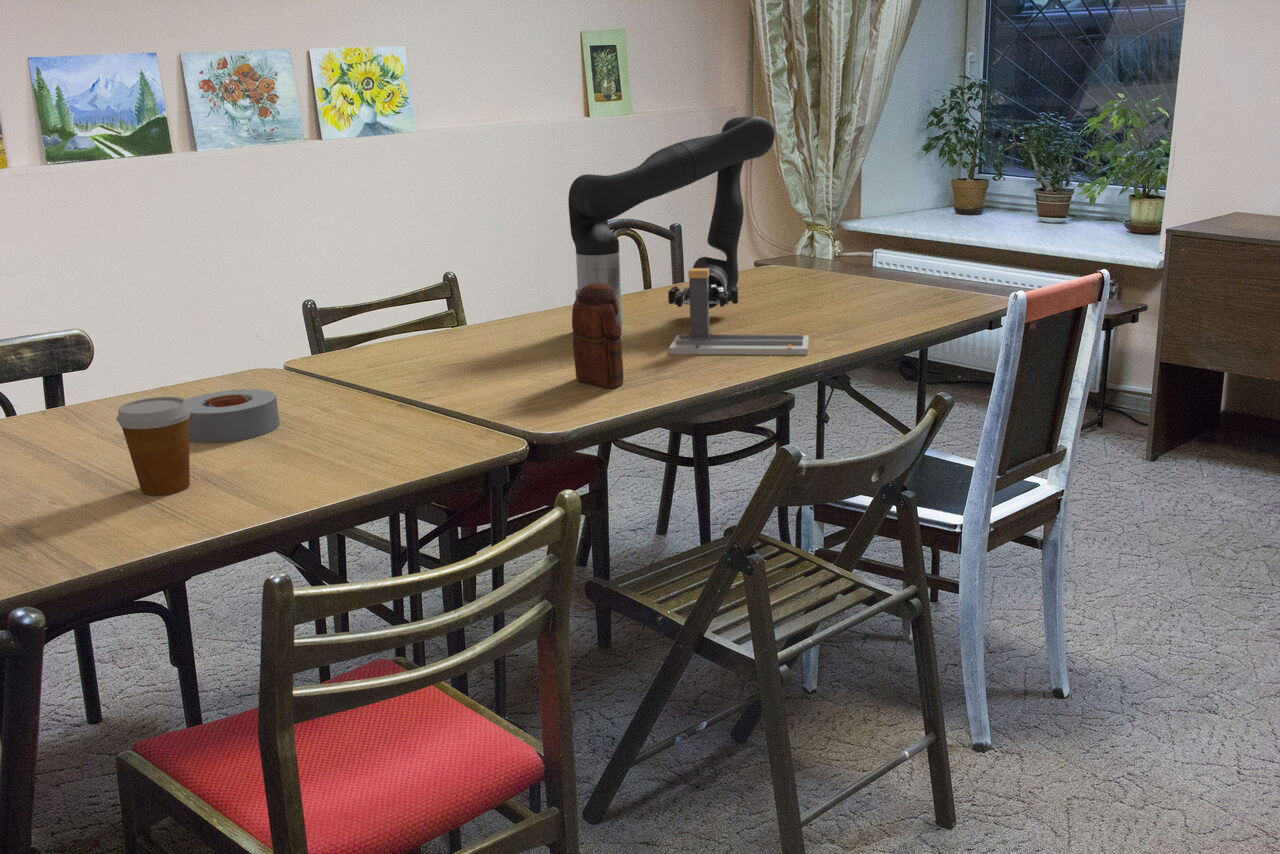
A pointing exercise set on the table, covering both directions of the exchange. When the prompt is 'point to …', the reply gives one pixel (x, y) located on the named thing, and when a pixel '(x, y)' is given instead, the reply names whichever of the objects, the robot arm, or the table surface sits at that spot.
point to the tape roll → (232, 415)
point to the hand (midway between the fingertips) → (700, 301)
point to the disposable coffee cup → (158, 442)
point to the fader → (699, 303)
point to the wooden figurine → (597, 336)
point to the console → (742, 345)
